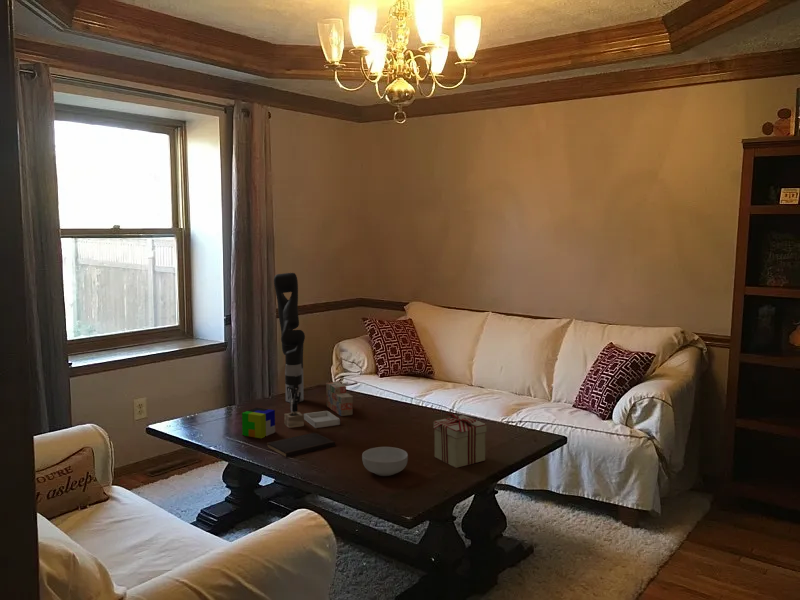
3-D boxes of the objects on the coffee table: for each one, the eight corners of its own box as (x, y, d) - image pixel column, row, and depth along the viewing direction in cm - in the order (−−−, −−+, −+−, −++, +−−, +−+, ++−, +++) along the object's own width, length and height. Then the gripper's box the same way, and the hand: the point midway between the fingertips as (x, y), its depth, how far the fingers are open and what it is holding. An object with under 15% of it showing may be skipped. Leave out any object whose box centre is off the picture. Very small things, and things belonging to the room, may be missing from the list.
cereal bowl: (352, 474, 245) (352, 455, 244) (379, 461, 259) (379, 443, 258) (391, 484, 236) (391, 464, 235) (416, 470, 250) (416, 452, 249)
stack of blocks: (353, 415, 324) (353, 390, 323) (340, 416, 321) (340, 391, 320) (337, 404, 343) (337, 381, 342) (326, 406, 341) (326, 382, 339)
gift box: (425, 459, 262) (426, 416, 260) (460, 450, 273) (461, 408, 271) (454, 471, 248) (455, 426, 246) (490, 461, 259) (491, 418, 258)
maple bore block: (284, 424, 309) (284, 413, 308) (298, 422, 312) (298, 411, 311) (289, 428, 302) (288, 417, 302) (303, 426, 306) (303, 415, 305)
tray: (303, 419, 316) (303, 413, 316) (327, 416, 322) (327, 410, 322) (315, 428, 302) (315, 422, 302) (340, 424, 308) (340, 419, 307)
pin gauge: (290, 418, 307) (289, 393, 306) (295, 418, 309) (295, 392, 307) (292, 420, 305) (291, 394, 304) (297, 419, 306) (297, 393, 305)
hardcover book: (266, 448, 276) (266, 442, 275) (314, 437, 290) (314, 432, 290) (286, 458, 263) (286, 453, 263) (335, 447, 278) (335, 441, 277)
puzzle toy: (275, 432, 296) (274, 410, 295) (261, 438, 287) (260, 415, 286) (256, 429, 300) (256, 407, 299) (242, 435, 291) (241, 413, 290)
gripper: (280, 371, 309) (281, 408, 311) (290, 377, 297) (290, 415, 299) (296, 369, 313) (296, 406, 314) (306, 375, 300) (306, 413, 302)
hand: (293, 410), depth 306 cm, fingers closed on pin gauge, 2 cm apart
